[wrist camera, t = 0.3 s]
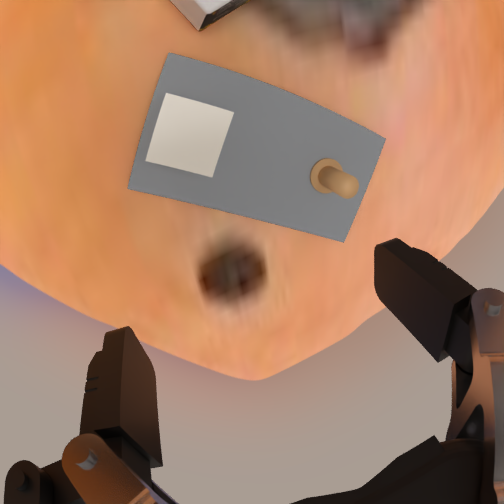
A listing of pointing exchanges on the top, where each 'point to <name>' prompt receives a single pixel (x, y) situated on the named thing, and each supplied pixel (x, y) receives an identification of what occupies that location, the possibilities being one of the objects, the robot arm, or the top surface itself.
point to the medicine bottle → (206, 10)
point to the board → (265, 153)
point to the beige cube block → (189, 135)
